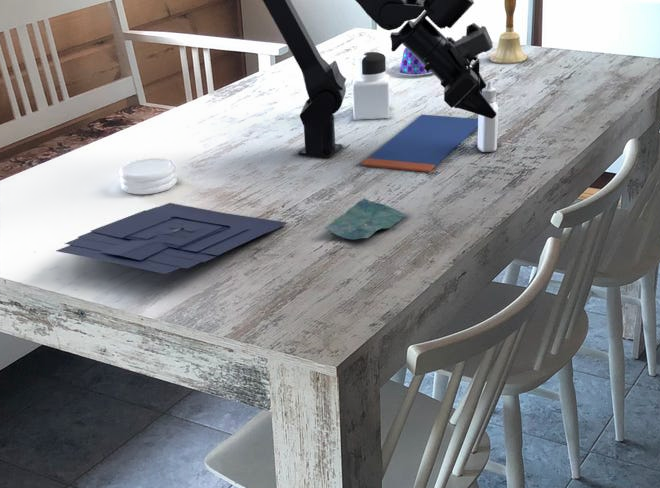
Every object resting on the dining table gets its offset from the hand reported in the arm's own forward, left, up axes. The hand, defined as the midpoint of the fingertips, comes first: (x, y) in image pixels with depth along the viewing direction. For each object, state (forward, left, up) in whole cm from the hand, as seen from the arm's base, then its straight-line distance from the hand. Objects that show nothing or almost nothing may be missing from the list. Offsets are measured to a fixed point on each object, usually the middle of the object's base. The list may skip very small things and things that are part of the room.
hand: (494, 108), depth 186 cm
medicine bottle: (+14, +30, -7) cm, 34 cm away
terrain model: (-41, +7, -7) cm, 42 cm away
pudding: (+47, +33, -7) cm, 58 cm away
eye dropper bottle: (0, +1, -7) cm, 7 cm away
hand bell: (+61, +16, -7) cm, 63 cm away
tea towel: (0, +13, -7) cm, 15 cm away
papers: (-58, +32, -7) cm, 67 cm away
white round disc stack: (-35, +52, -7) cm, 63 cm away
